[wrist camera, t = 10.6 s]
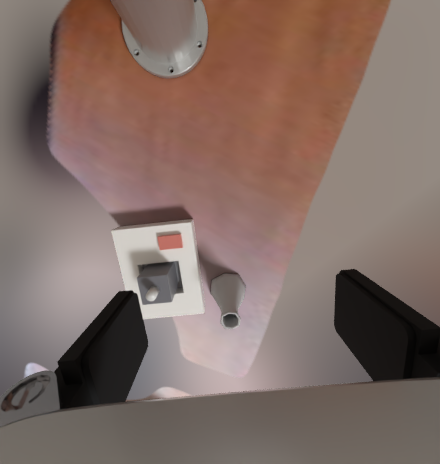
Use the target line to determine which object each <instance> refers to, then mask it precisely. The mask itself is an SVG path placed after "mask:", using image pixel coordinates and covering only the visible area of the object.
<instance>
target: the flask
mask: <svg viewBox="0 0 440 464" xmlns="http://www.w3.org/2000/svg"><path fill="white" fill-rule="evenodd" d="M245 288H246V285H245V284H244V282H243V281H242V279H241V278H240V276H239V275H237V274H226V273H224V274H222V275H220V276H218V277H217V278H215V279H213V280H212V284H211V295H212V296H213V298H214V299H215V301H216V302H217V304H218V305H219V307H220V309H221V312H222V314H221V324H222V326H223V327H224V328H225V329H234V328H236V327H238V326H240V316H239V315H238V309H239V307H240V305H241V303H242V301H243V300H244V295H245Z"/></svg>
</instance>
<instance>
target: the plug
mask: <svg viewBox="0 0 440 464" xmlns="http://www.w3.org/2000/svg"><path fill="white" fill-rule="evenodd" d="M137 282H138V286H139V291H140V295H141V300H142V304H143V305H147V304H158V303H168V302H172V301H173V298H174V295H175V293H176V290H177V287H178V279H177V273H176V267H175V261H171V262H161V263H151V264H148V265H147V266H146V267H145V268H144V270H143V271H142V272H141V273H140V275H139V276H138V277H137Z"/></svg>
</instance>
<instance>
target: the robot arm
mask: <svg viewBox="0 0 440 464" xmlns="http://www.w3.org/2000/svg"><path fill="white" fill-rule="evenodd" d="M110 1H111V3H112V4H113V6H114V7H115V9H116V11H117V12H118V14H119V16H120V17H121V19H122V31H123V35H124V39H125V42H126V45H127V47H128V49H129V51H130V53H131V54H132V56H133V57H134V59H135V60H136V61H137V63H138V64H139V65H140V66H141V67H142V68H143V69H145V70H146V71H147V72H149V73H151V74H152V75H155V76H158V77H161V78H176V77H180V76H183V75H184V74H186V73H188V72H190V71H191V70H192V69H193V68H194V67H195V66H196V65H197V64H198V62H199V61H200V59H201V57H202V56H203V54H204V51H205V48H206V45H207V39H208V22H207V15H206V11H205V7H204V5H203V2H202V0H110ZM199 46H201V48H198V47H199ZM138 54H139V55H138ZM137 55H138V56H137ZM171 71H173V72H172V73H171ZM335 289H336V291H335V316H334V326H335V329H336V331H337V333H338V334H339V336H340V337H341V338H342V339H343V341H344V342H345V344H346V345H347V346H348V348H349V349H350V350H351V352H352V353H353V354H354V356H355V357H356V358H357V359H358V361H359V362H360V364H361V365H362V366H363V368H364V369H365V370H366V372H367V373H368V374H369V376H370V377H371V378H372V379H373V381H369V382H356V383H343V384H331V385H318V386H304V387H291V388H279V389H267V390H255V391H243V392H231V393H219V394H208V395H196V396H185V397H174V398H163V399H152V400H141V401H130V402H125V401H126V398H127V396H128V393H129V391H130V389H131V386H132V384H133V382H134V379H135V377H136V374H137V372H138V370H139V367H140V365H141V362H142V360H143V357H144V355H145V353H146V350H147V347H148V339H147V334H146V331H145V326H144V321H143V317H142V312H141V308H140V303H139V299H138V295H137V293H134V292H133V291H132V290H129V291H119V292H118V293H117V294H116V295H115V296H114V298H113V299H112V300H111V301H110V302H109V303H108V304H107V306H106V307H105V308H104V309H103V310H102V311H101V313H100V314H99V315H98V316H97V317H96V318H95V320H93V322H92V323H91V324H90V325H89V326H88V328H87V329H86V330H85V331H84V332H83V333H82V334H81V335H80V337H79V338H78V339H77V340H76V341H75V342H74V344H73V345H72V346H71V347H70V348H69V349H68V350H67V352H66V353H65V354H64V355H63V356H62V357H61V358H60V360H59V361H58V365H59V367H58V368H57V369H56V370H55V372H52V371H41V372H37V373H35V374H32V375H30V376H28V377H26V378H24V379H22V380H21V381H19V382H18V383H16V384H15V385H13V386H12V387H11V388H9V389H8V390H7V391H6V392H5V393H4V394H3V395H2V396H1V397H0V464H440V327H439V326H437V325H436V324H434V323H433V322H431V321H430V320H428V319H427V318H426V317H424V316H423V315H421V314H420V313H418V312H417V311H415V310H414V309H412V308H411V307H410V306H408V305H407V304H405V303H404V302H402V301H401V300H399V299H398V298H396V297H395V296H394V295H392V294H390V293H389V292H388V291H386V290H385V289H383V288H382V287H380V286H379V285H377V284H376V283H375V282H373V281H372V280H370V279H369V278H367V277H366V276H364V275H363V274H361V273H360V272H359V271H357V270H355V269H351V270H341V271H340V273H339V274H337V275H336V288H335Z"/></svg>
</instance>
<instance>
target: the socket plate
mask: <svg viewBox="0 0 440 464" xmlns="http://www.w3.org/2000/svg"><path fill="white" fill-rule="evenodd" d="M111 233H112V237H113V241H114V245H115V249H116V253H117V258H118V262H119V266H120V270H121V274H122V278H123V283H124V286H125V291H129V290H132V291H133V292H134V293H137V295H138V299H139V303H140V308H141V312H142V317H143V319H151V318H161V317H172V316H182V315H193V314H203V313H204V312H205V299H204V292H203V285H202V278H201V270H200V263H199V256H198V249H197V242H196V235H195V228H194V221H193V219H188V220H178V221H169V222H159V223H150V224H141V225H131V226H122V227H118V228H116V229H114V230H111ZM171 261H175V267H176V273H177V279H178V287H177V290H176V293H175V295H174V298H173V301H172V302H168V303H158V304H147V305H143V304H142V300H141V295H140V291H139V286H138V282H137V277H138V276H139V275H140V273H141V272H142V271H143V270H144V268H145V267H146V266H147V265H148V264H151V263H161V262H171Z"/></svg>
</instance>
